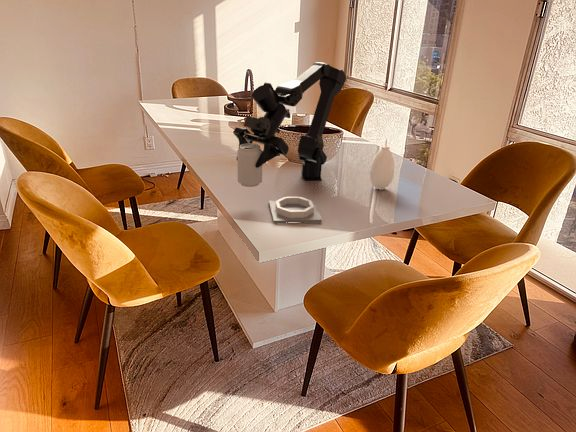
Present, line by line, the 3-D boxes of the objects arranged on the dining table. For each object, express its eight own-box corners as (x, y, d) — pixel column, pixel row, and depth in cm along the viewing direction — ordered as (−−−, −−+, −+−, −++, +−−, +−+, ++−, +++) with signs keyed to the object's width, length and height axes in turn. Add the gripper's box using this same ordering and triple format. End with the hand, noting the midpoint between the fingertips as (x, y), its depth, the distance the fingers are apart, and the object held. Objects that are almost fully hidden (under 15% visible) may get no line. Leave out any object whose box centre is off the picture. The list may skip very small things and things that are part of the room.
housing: (312, 203, 142) (313, 194, 141) (321, 222, 130) (322, 213, 129) (268, 203, 140) (269, 195, 139) (273, 223, 128) (274, 214, 127)
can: (232, 184, 136) (232, 146, 131) (246, 177, 142) (246, 140, 137) (253, 189, 133) (254, 151, 128) (266, 182, 139) (267, 144, 134)
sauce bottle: (381, 183, 161) (388, 134, 153) (395, 191, 155) (403, 140, 147) (363, 186, 157) (370, 136, 150) (377, 194, 151) (385, 143, 143)
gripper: (236, 100, 135) (210, 142, 133) (283, 110, 125) (256, 157, 122) (254, 121, 144) (230, 161, 142) (299, 132, 134) (274, 176, 131)
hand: (246, 163), depth 134 cm, fingers closed on can, 7 cm apart
